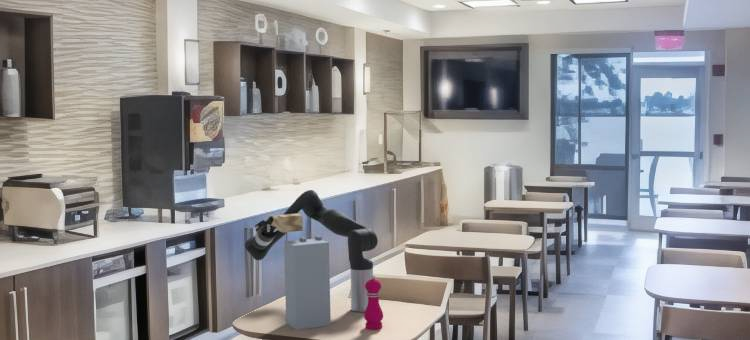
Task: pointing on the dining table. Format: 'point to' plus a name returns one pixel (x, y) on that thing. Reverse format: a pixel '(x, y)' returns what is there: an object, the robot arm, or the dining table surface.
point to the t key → (287, 222)
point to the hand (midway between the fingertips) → (277, 217)
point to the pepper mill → (373, 305)
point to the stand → (307, 283)
